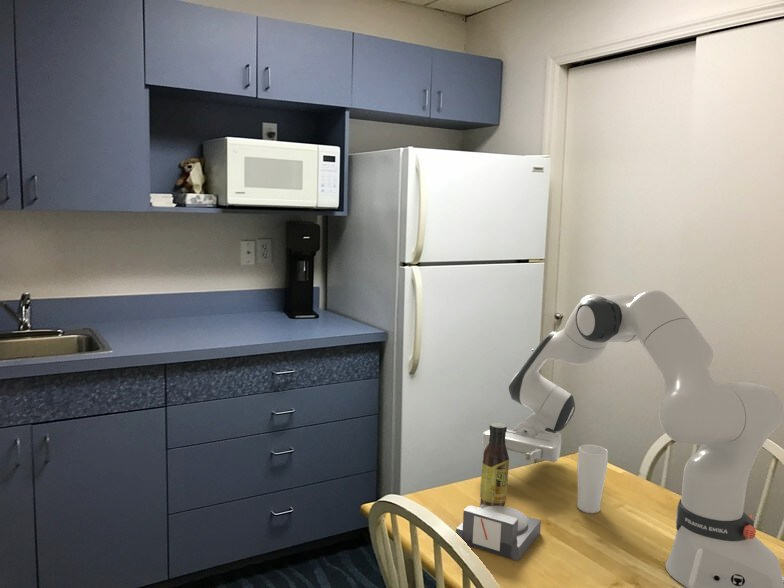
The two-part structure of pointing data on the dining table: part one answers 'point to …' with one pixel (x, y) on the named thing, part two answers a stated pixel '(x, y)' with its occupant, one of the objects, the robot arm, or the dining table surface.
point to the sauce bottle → (495, 468)
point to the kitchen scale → (498, 530)
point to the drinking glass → (591, 477)
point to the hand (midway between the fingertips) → (510, 453)
